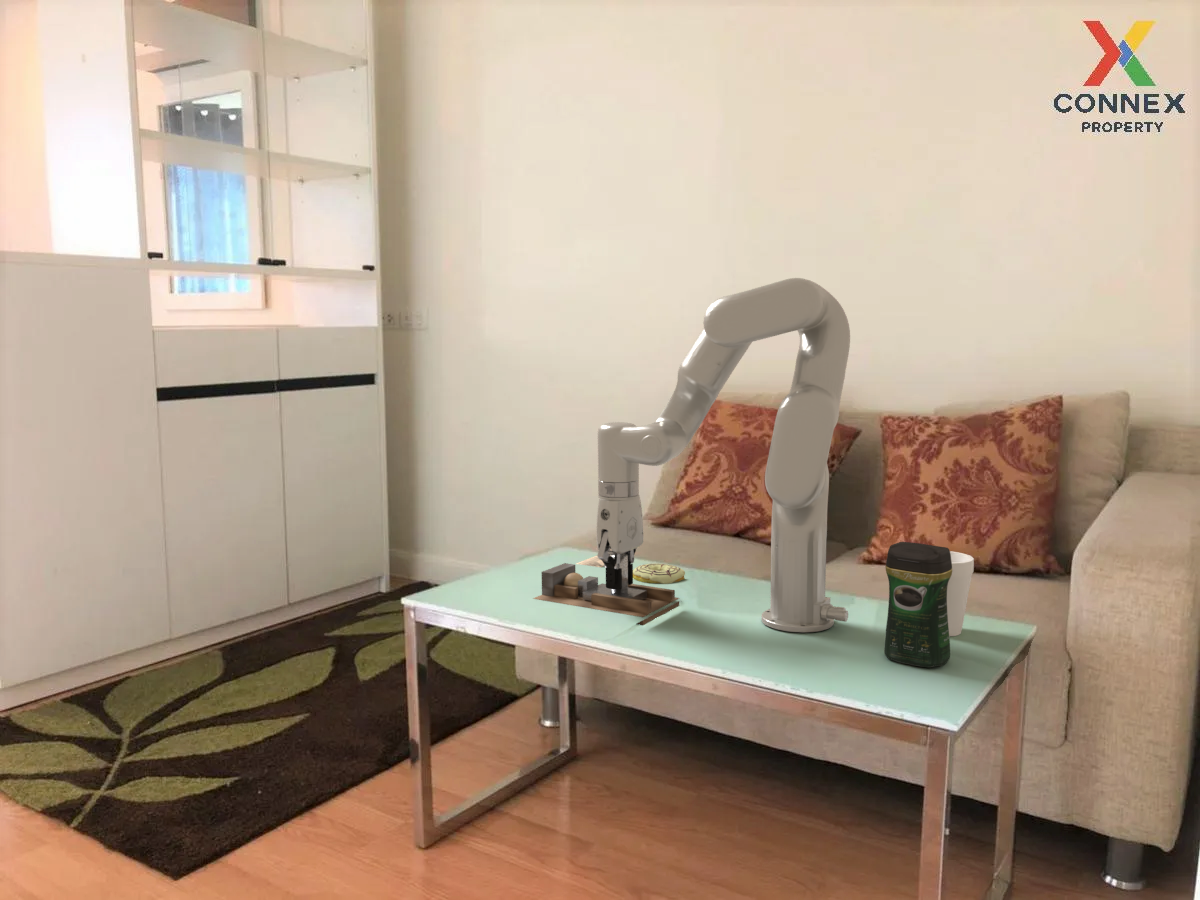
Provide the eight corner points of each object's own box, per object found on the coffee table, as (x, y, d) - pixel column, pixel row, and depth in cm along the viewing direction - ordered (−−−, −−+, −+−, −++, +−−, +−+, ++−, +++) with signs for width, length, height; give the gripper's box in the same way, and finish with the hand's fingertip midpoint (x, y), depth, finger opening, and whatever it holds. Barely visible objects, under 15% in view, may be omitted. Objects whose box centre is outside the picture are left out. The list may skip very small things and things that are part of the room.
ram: (647, 597, 184) (646, 553, 183) (628, 606, 178) (628, 561, 177) (593, 589, 191) (592, 546, 189) (574, 597, 185) (573, 553, 184)
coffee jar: (956, 659, 154) (960, 543, 151) (936, 673, 148) (940, 553, 145) (897, 646, 160) (900, 535, 158) (876, 659, 154) (879, 544, 152)
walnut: (588, 592, 190) (588, 571, 189) (577, 597, 186) (576, 576, 186) (571, 589, 192) (571, 569, 191) (559, 594, 188) (559, 573, 188)
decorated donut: (674, 594, 194) (674, 575, 193) (624, 588, 198) (624, 570, 198) (691, 581, 203) (691, 563, 203) (644, 576, 208) (643, 559, 207)
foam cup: (901, 626, 171) (903, 553, 169) (944, 619, 174) (946, 548, 173) (938, 642, 162) (941, 565, 161) (982, 635, 165) (985, 560, 164)
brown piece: (679, 605, 185) (679, 574, 184) (643, 625, 173) (642, 592, 172) (573, 589, 197) (573, 560, 197) (532, 606, 186) (532, 575, 185)
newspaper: (595, 560, 224) (595, 553, 224) (622, 564, 221) (622, 556, 220) (536, 584, 204) (536, 575, 204) (565, 588, 201) (564, 580, 201)
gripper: (612, 498, 172) (613, 599, 174) (657, 484, 186) (658, 579, 188) (577, 494, 176) (578, 594, 178) (623, 481, 190) (624, 574, 192)
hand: (619, 585), depth 183 cm, fingers closed on ram, 3 cm apart
